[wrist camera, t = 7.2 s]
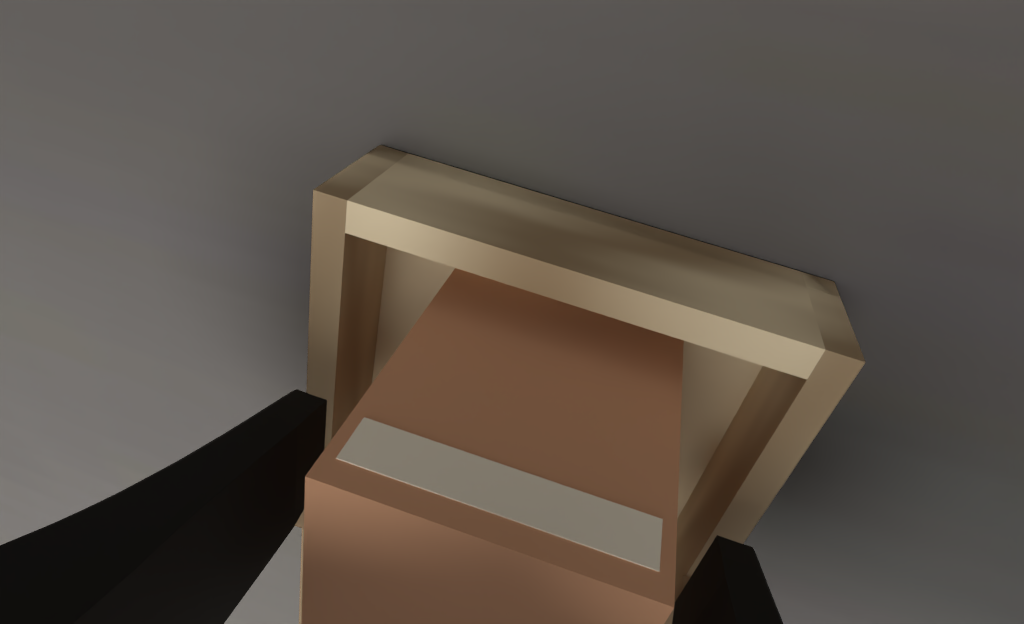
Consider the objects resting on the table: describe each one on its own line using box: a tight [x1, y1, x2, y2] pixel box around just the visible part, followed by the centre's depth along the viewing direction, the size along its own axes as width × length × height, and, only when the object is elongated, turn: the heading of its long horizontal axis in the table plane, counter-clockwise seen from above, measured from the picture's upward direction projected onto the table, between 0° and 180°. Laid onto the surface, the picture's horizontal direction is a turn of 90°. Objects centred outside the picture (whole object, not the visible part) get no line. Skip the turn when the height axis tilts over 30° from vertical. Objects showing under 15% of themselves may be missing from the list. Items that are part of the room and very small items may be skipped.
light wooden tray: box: [295, 145, 865, 624], centre depth 15 cm, size 9×14×3 cm, turn 168°
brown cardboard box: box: [301, 268, 684, 624], centre depth 11 cm, size 5×5×6 cm
